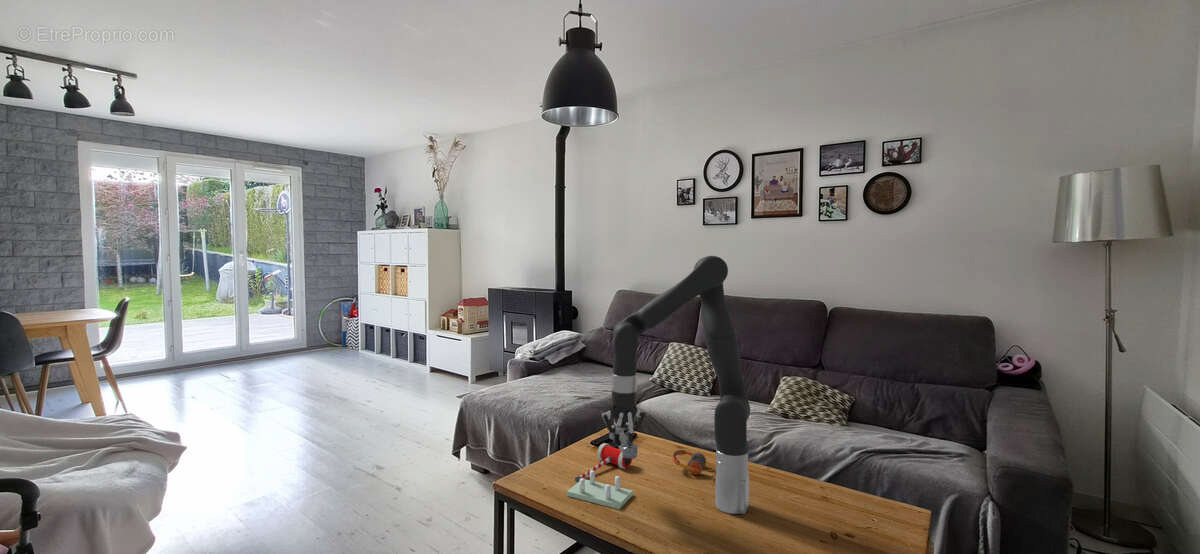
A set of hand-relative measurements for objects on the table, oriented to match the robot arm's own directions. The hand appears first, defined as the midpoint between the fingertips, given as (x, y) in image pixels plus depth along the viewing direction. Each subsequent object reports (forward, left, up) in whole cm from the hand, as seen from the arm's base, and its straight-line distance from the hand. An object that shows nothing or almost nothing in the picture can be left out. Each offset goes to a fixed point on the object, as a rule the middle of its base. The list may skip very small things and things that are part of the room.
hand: (622, 444), depth 155 cm
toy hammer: (+16, -19, -18) cm, 31 cm away
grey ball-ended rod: (0, 0, -1) cm, 1 cm away
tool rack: (+8, -1, -18) cm, 20 cm away
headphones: (-15, -33, -18) cm, 40 cm away
